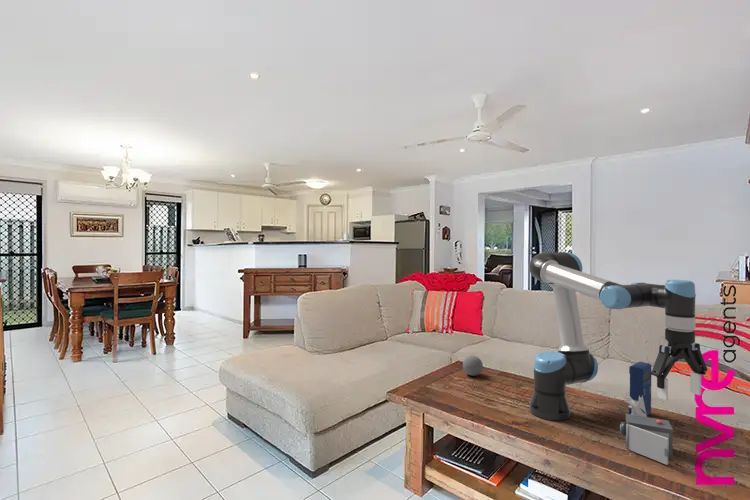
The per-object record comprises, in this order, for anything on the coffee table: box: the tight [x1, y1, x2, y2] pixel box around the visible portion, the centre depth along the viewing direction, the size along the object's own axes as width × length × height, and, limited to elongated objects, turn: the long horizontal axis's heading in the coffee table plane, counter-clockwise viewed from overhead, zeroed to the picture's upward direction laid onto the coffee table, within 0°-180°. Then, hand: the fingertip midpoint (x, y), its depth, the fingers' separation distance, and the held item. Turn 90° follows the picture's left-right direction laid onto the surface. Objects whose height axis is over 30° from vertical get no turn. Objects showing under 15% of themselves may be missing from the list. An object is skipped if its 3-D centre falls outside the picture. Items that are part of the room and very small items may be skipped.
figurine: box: [623, 394, 648, 417], centre depth 148 cm, size 11×8×12 cm
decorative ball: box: [462, 355, 484, 377], centre depth 203 cm, size 10×10×10 cm
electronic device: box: [628, 361, 652, 417], centre depth 156 cm, size 10×5×20 cm, turn 127°
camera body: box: [619, 413, 674, 458], centre depth 132 cm, size 14×7×10 cm, turn 63°
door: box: [625, 424, 669, 466], centre depth 126 cm, size 12×2×8 cm, turn 33°
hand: (679, 396), depth 125 cm, fingers open, 13 cm apart
